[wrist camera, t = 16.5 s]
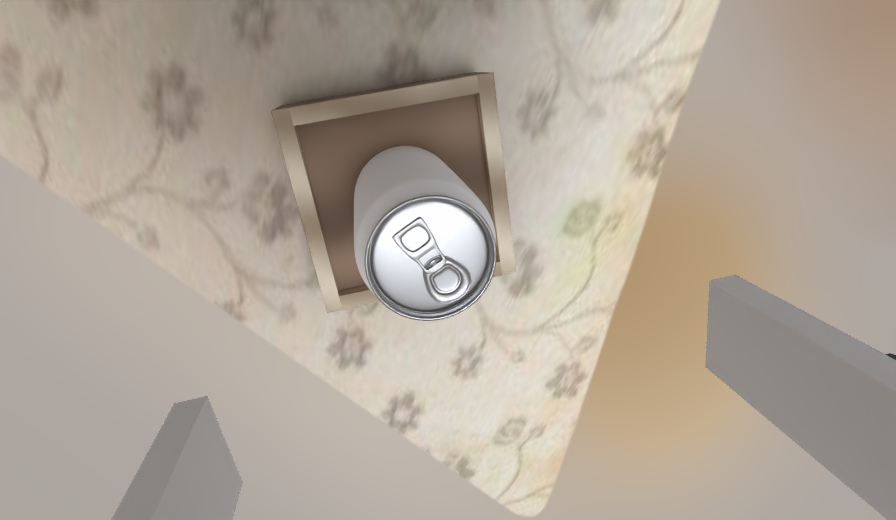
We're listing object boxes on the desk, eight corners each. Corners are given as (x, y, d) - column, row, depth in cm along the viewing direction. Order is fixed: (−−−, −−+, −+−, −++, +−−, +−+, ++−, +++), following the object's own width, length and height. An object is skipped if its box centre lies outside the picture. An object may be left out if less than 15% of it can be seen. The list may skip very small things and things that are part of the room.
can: (394, 262, 33) (414, 356, 22) (332, 185, 31) (320, 247, 20) (473, 205, 33) (533, 273, 22) (417, 122, 31) (452, 152, 19)
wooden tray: (282, 105, 33) (271, 111, 28) (475, 72, 34) (493, 72, 30) (330, 284, 37) (327, 312, 33) (497, 249, 39) (516, 271, 34)
